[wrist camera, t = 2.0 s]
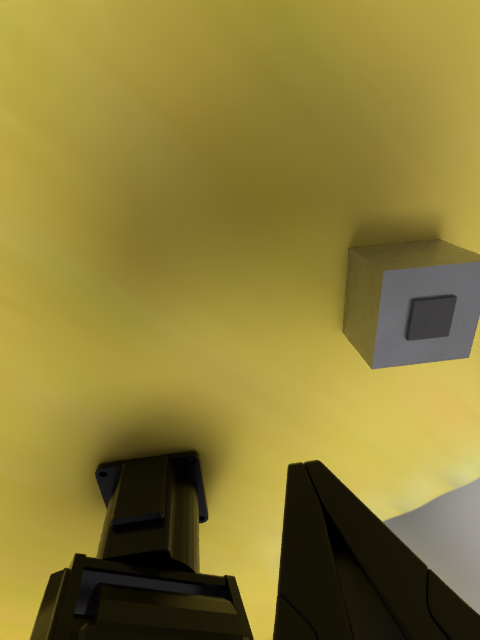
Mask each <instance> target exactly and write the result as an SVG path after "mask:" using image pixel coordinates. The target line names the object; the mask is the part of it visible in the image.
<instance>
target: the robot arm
mask: <svg viewBox="0 0 480 640" xmlns="http://www.w3.org/2000/svg"><path fill="white" fill-rule="evenodd" d="M189 459H193V460H189ZM103 471H105V472H103ZM95 476H96V479H97V482H98V485H99V488H100V490H101V493H102V496H103V499H104V502H105V505H106V508H107V513H106V517H105V521H104V526H103V530H102V534H101V539H100V543H99V547H98V552H97V556H96V558H91V557H86V555H85V554H78V553H75V555H74V557H73V560H72V562H71V565H70V567H69V568H64V570H61V571H59V572H56V573H53V574H51V576H50V578H49V581H48V584H47V587H46V590H45V593H44V596H43V599H42V602H41V605H40V608H39V611H38V614H37V617H36V620H35V624H34V627H33V630H32V633H31V637H30V640H254V639H253V635H252V632H251V629H250V625H249V622H248V619H247V615H246V612H245V609H244V606H243V602H242V599H241V596H240V592H239V589H238V586H237V582H236V579H235V577H234V576H229V575H225V576H224V577H222V576H215V575H208V574H202V573H200V567H199V523H204V522H206V521H207V520H208V508H207V502H206V496H205V490H204V483H203V477H202V471H201V464H200V458H199V454H198V453H197V452H194V451H189V452H182V453H175V454H167V455H160V456H153V457H146V458H139V459H131V460H124V461H117V462H110V463H103V464H100V465H98V467H97V469H96V472H95ZM273 640H480V615H479V614H478V613H477V612H475V611H474V610H473V609H472V608H471V607H470V606H469V605H468V604H466V603H465V602H464V601H463V600H462V599H461V598H460V597H459V596H458V595H457V594H456V593H455V592H454V591H453V590H452V589H450V588H449V587H448V586H447V585H446V584H445V583H444V582H443V581H442V580H441V579H440V578H439V577H438V576H437V575H436V574H435V573H434V572H433V571H432V570H431V569H428V567H427V565H426V564H425V563H424V562H423V561H421V559H420V558H419V557H418V556H416V555H415V553H413V552H412V551H411V550H410V549H409V548H408V547H407V546H406V545H405V544H404V543H403V542H402V541H401V540H400V539H399V538H398V537H397V536H396V535H395V534H394V533H393V532H392V531H391V530H390V529H389V528H388V527H387V526H386V525H385V524H384V523H383V522H382V521H381V520H380V519H379V518H378V517H377V516H376V515H375V514H374V513H373V512H372V511H371V510H370V509H369V508H368V507H367V506H366V505H365V504H364V503H362V502H361V501H360V500H359V499H358V498H357V497H356V496H355V495H354V494H353V493H352V492H351V491H350V490H349V489H348V488H347V487H346V486H345V485H344V484H343V483H342V482H341V481H340V480H339V479H338V478H337V477H336V476H335V475H334V474H333V473H332V472H331V471H330V470H329V469H328V468H327V467H326V466H325V465H324V464H323V463H322V462H321V461H319V460H313V461H306V462H304V464H303V463H302V462H299V463H292V464H289V465H288V470H287V483H286V495H285V507H284V519H283V532H282V544H281V556H280V568H279V581H278V596H277V603H276V615H275V624H274V633H273Z"/></svg>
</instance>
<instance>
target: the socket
mask: <svg viewBox="0 0 480 640" xmlns="http://www.w3.org/2000/svg"><path fill="white" fill-rule="evenodd" d="M479 316H480V255H479V254H476V253H474V252H471V251H469V250H466V249H464V248H461V247H458V246H456V245H453V244H451V243H448V242H445V241H443V240H440V239H438V240H427V241H416V242H405V243H395V244H384V245H373V246H362V247H351V248H349V251H348V265H347V279H346V292H345V306H344V319H343V334H344V335H345V336H346V337H347V339H348V340H349V341H350V342H351V344H352V345H353V346H354V347H355V349H356V350H357V351H358V352H359V354H360V355H361V356H362V357H363V359H364V360H365V361H366V363H367V364H368V365H369V366H370V368H371V369H378V368H387V367H395V366H404V365H412V364H420V363H429V362H437V361H445V360H454V359H462V358H469V355H470V351H471V347H472V343H473V339H474V336H475V332H476V328H477V324H478V320H479Z"/></svg>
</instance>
